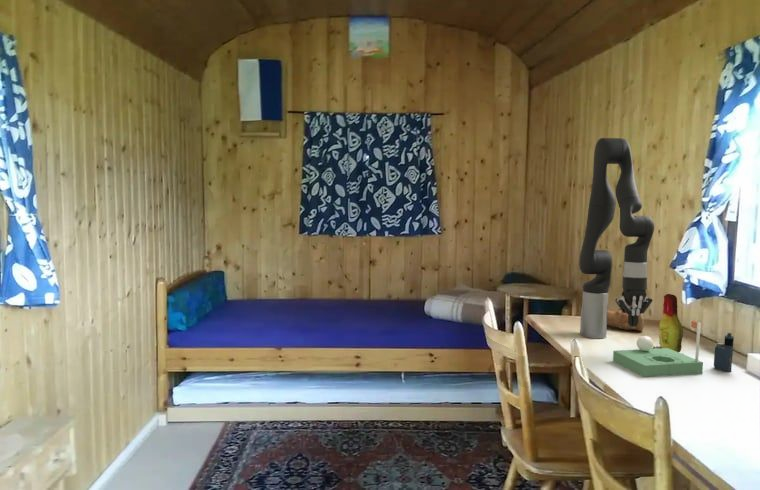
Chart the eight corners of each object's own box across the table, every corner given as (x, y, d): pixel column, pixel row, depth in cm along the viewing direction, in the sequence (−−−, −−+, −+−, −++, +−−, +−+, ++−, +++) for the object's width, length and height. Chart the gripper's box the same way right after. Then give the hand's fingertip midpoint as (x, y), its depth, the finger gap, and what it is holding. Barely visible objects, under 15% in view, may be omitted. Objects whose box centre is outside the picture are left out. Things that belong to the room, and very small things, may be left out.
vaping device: (728, 372, 177) (731, 334, 175) (711, 367, 181) (714, 330, 180) (733, 371, 178) (736, 333, 177) (716, 366, 182) (719, 330, 181)
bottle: (653, 345, 207) (656, 291, 205) (672, 346, 206) (675, 291, 204) (665, 355, 195) (668, 297, 193) (685, 355, 194) (688, 298, 192)
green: (613, 361, 188) (615, 314, 186) (666, 358, 191) (669, 312, 190) (644, 377, 172) (647, 326, 170) (702, 373, 176) (705, 324, 174)
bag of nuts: (622, 343, 223) (656, 330, 225) (616, 318, 222) (650, 305, 223) (597, 330, 242) (629, 318, 243) (591, 307, 240) (623, 295, 242)
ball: (633, 349, 189) (633, 334, 189) (646, 348, 190) (647, 333, 190) (642, 353, 184) (643, 338, 184) (656, 352, 185) (657, 337, 185)
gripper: (645, 273, 197) (643, 323, 198) (610, 274, 194) (608, 324, 195) (659, 276, 189) (657, 327, 191) (624, 277, 187) (622, 329, 188)
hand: (632, 326), depth 193 cm, fingers closed
